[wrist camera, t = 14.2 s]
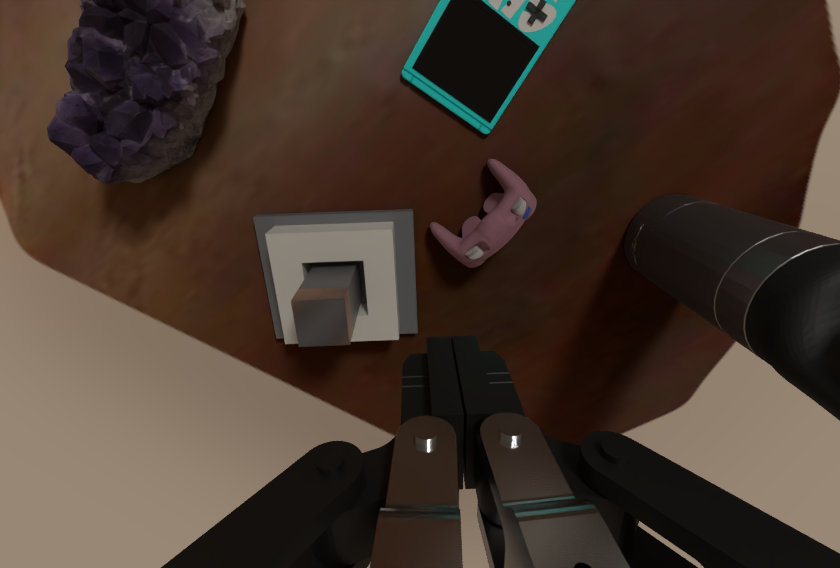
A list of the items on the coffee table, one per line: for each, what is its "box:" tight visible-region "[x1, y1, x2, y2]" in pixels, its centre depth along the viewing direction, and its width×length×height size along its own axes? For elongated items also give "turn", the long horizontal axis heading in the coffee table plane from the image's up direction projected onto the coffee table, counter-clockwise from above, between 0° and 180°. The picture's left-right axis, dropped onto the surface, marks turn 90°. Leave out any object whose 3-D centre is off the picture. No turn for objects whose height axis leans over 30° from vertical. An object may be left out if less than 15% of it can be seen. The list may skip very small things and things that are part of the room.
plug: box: [291, 261, 362, 347], centre depth 39 cm, size 4×4×10 cm
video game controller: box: [430, 159, 537, 268], centre depth 40 cm, size 10×5×7 cm, turn 139°
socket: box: [253, 209, 418, 344], centre depth 43 cm, size 16×14×4 cm
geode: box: [47, 0, 246, 184], centre depth 33 cm, size 20×12×10 cm, turn 154°
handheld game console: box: [402, 0, 576, 134], centre depth 36 cm, size 10×16×1 cm, turn 148°
